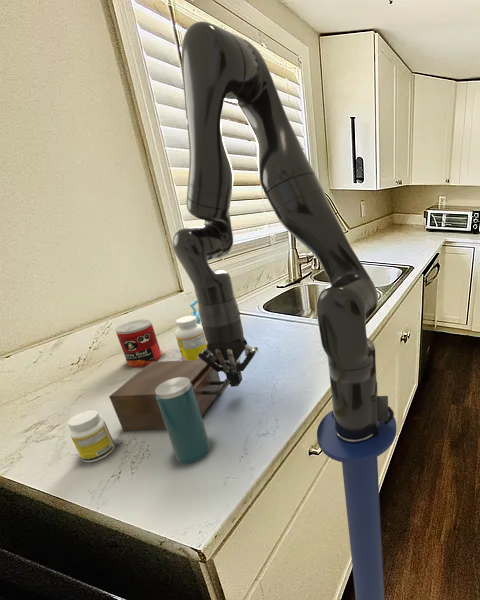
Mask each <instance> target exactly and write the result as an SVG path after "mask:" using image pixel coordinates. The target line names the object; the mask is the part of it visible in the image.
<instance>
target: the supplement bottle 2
mask: <svg viewBox="0 0 480 600" xmlns="http://www.w3.org/2000/svg"><path fill="white" fill-rule="evenodd" d="M175 323H176V326H177V327H178V328H177V329H176V330H175V332H174V335H175V338H176V342H177V345H178V348H179V352H180V355H181V359H182V361H190V360H202V359H201V358H200V357H199V356H198V355H199V354H200V353H201V352H202V351H203V350H204V349H205V348H207V347H206V346H207V341H206V339H205V335H204V331H203V327H202V324H201V323H200V324H197V318H196V316H191V315H186V316H182V317H180V318H178V319H176V321H175Z"/></svg>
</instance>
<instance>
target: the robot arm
mask: <svg viewBox="0 0 480 600" xmlns="http://www.w3.org/2000/svg"><path fill="white" fill-rule="evenodd" d="M181 74H182V85H183V96H184V108H185V109H184V110H185V118H186V126H187V127H186V128H187V137H188V150H189V151H188V152H189V153H188V155H189V156H188V157H189V161H188V162H189V163H188V164H189V165H188V179H187V188H186V189H187V190H186V209H187V211H188V213H189V214H190V215H191V216H193V217H195V218H197V219H199V220H201V221H204V224H202V225H196V226H195V225H194V226H189V227H184V228H181V229H179V230H177V231H175V233H174V235H173V238H172V249H173V252H174V254H175V256H176V258H177V260H178V262H179V263H180V264H181V266H182V268H183V270H184V271H185V273H186V274H187V276H188V279H189V280H190V281H191V284H192V285H193V289H194V293H195V298H196V300H197V301H198V303H197V306H198V307H199V309H198V312H199V315H200V319H201V320H200V324H201V325H202V327H203V331H204V335H205V339H206V341H207V346H206V347H207V348H205V349H204V350H203V351H202V352H201V353H200V354H199V355H198V356H199V357H200V358H201V359H202V360H203V361H204V362H206V363H207V364H208V365H209V366H211V367H212V368H213V369H214V370H215V371H217V372H218V373H220V372H222V373H224V374H225V377H226V379H229V380H230V384H229V386H230V387H232V388H233V387H239V385H240V384H241V383H242V381H243V376H242V372H244V371H245V369H246V368H247V366H248V365H249V364H250V362H251V361H252V360H253V358H254V357H255V355H256V354H257V352H258V351H259V347H257V346H253V347H252V346H250V345H249V344H248V341H247V340H246V339H245V337H244V329H243V325H242V318H241V312H240V310H239V305H238V302H237V300H236V297H235V291H234V286H233V282H232V277H231V275H230V274H229V272H228V271H226V270H222V269H212V268H211V266H210V265H209V262H211V261H214V260H217V259H221V258H225V257H226V256H228V255H229V253H230V252H231V251H232V248H233V247H234V234H233V228H232V221H231V215H230V207H231V202H232V196H233V188H234V172H233V167H232V163H231V161H230V158H229V155H228V152H227V149H226V146H225V143H224V138H223V133H222V113H223V108H224V104H225V101H228V102H232V103H235V104H236V105H237V107H238V108H239V109H240V111H241V112H242V114H243V115H244V117H245V119H246V121H247V123H248V125H249V127H250V130H251V131H252V134H253V135H254V138H255V141H256V146H257V148H256V149H257V168H258V179H259V182H260V186H261V188H262V191H263V194H264V196H265V197H266V199H267V201H268V203H269V205H270V207H271V209H272V211H273V213H274V214H275V216H276V218H277V219H278V221H279V222H280V224H281V225H282V226H283V227H284V228H285V229H286V230H287V231H288V232H289V233H290V234H291V235H292V236H293V237H294V238H295V239H296V240H297V241H298V242H300V244H302V245H303V246H304V247H305V248H307V249H308V250H309V252H311V253H312V254H313V256H314V257H315V258H316V259H317V261H318V262H319V263H320V265H321V267H322V269H323V270H324V273H325V274H326V276H327V279H328V281H329V283H330V284H329V285H327V286H326V287H324V288H323V289H322V290H321V291H320V292H319V294H318V297H317V300H316V319H317V324H318V331H319V335H320V342H321V346H322V349H323V351H324V353H325V355H326V356H327V363H328V374H329V384H330V392H331V393H330V394H331V401H332V403H331V404H332V410H333V412H332V418H333V417H334V424H335V433H336V435H337V437H338V438H339V439H340V440H342V441H344V442H347V443H362V442H365V441H367V440H369V439H371V438H372V437H378V435H379V421H384V424H386V425H387V424H388V423H389V422H390V421H391V420H392V419H393V416H394V415H395V412H394V410H393V409H392V407H391V406H389V396H388V395H379V392H378V391H379V389H378V381H377V361H376V346H375V343H374V341H373V340H372V339H371V338H369V337H368V336H367V327H366V326H367V325H366V324H367V321H368V320H369V319H370V317H371V316H372V315H373V314H374V313H375V311H376V309H377V308H378V305H379V293H378V291H377V290H378V289H377V288H376V286H375V284H374V281H373V279H371V277H370V275H369V273H368V272H367V270H366V268H365V267H364V265H363V264H362V262H361V261H360V259H359V257H358V255H357V254H356V253H355V251H354V249H353V247H352V246H351V244H350V242H349V240H348V238H347V236H346V234H345V232H344V230H343V228H342V226H341V224H340V221H339V219H338V218H337V215H336V214H335V212H334V210H333V208H332V207H331V204H330V202H329V200H328V197H327V195H326V192H325V191H324V189H323V187H322V184H321V182H320V180H319V178H318V176H317V174H316V172H315V171H314V169H313V167H312V165H311V164H310V162H309V159H308V158H307V155H306V153H305V151H304V149H303V147H302V145H301V143H300V141H299V139H298V136H297V134H296V132H295V130H294V129H293V126H292V123H290V120H289V118H288V115H287V114H286V110H285V108H284V106H283V103H282V101H281V97H280V95H279V92H278V90H277V87H276V85H275V82H274V79H273V77H272V74H271V72H270V69H269V67H268V65H267V63H266V61H265V59H264V57H263V55H262V53H261V52H260V51H259V50H258V49H257V47H255V45H253V43H251V42H250V41H249V40H247V39H246V38H243V37H241V36H239V35H237V34H235V33H234V32H233V33H232V32H230V31H228V30H226V29H224V28H223V27H220V26H218V25H216V24H213V23H211V22H208V21H196V22H193V23H192V24H191V25H190V26H189V27H187V30H186V32H185V33H184V36H183V39H182V44H181ZM198 307H197V308H198ZM243 352H244V356H245V358H244V359H243V361H242V362H241V360H242V355H243ZM388 412H389V413H390V416H389V417H388ZM394 417H395V416H394Z"/></svg>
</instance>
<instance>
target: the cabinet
mask: <svg viewBox="0 0 480 600" xmlns="http://www.w3.org/2000/svg"><path fill="white" fill-rule="evenodd" d="M208 367H209V365H208V364H207V363H206V362H204V361H203V360H190V361H183V360H165V361H155V362H151V363H150V364H148V365H146V366H144V367H143V368H142V369H141V370H140V371H138V372H137V373H135V375H133V376H132V377H131V378H129V380H127V381H126V382H124V384H123V385H121V386H119V387H118V389H116V390H114V391H113V392H112V393H111V394H110V395H109V396H108V397H109V400H110V402H111V404H112V407H113V409H114V412H115V414H116V417H117V420H118V422H119V424H120V427H121V430H122V431H124V432H125V431H127V432H128V431H147V430H150V431H151V430H167V429H166V426H165V423H164V420H163V418H162V415H161V412H160V409H159V406H158V403H157V400H156V397H155V396H156V392H155V390H156V388H157V387H158V386H159V385H160V384H162V383H163V382H165V381H167V380H170V379H173V378H178V377H185V378H188V379H189V380H190V383H192V384H193V383H194V382H195V381H196V380H197V379H198V378H199V376H200V375H201V374H202V373H203V372H204V371H206V370H207V369H208Z"/></svg>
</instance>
